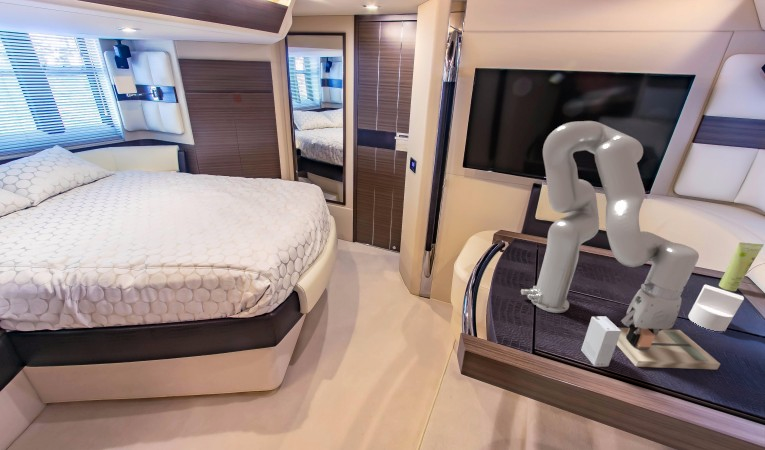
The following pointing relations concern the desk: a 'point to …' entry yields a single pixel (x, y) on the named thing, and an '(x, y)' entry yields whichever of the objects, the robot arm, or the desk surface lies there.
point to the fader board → (668, 352)
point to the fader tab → (644, 338)
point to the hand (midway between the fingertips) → (637, 341)
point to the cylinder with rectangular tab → (715, 308)
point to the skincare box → (600, 341)
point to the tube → (739, 265)
